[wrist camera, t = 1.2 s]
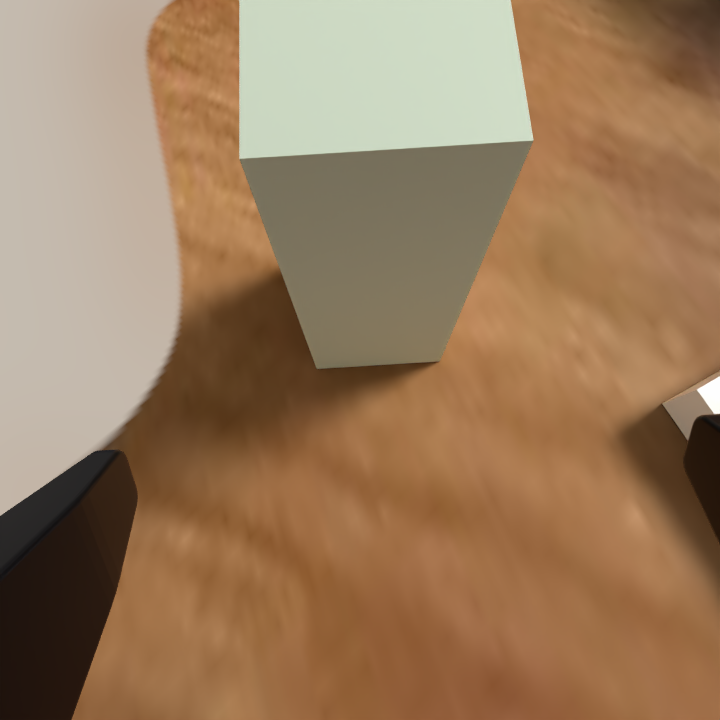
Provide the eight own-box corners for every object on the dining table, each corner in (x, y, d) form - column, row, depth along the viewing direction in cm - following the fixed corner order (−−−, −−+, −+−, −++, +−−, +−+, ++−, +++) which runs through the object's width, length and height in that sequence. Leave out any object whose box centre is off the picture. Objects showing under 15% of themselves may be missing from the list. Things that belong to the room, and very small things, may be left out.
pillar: (439, 361, 23) (533, 140, 10) (316, 369, 23) (239, 158, 10) (428, 249, 25) (496, -81, 11) (312, 256, 25) (239, -65, 11)
